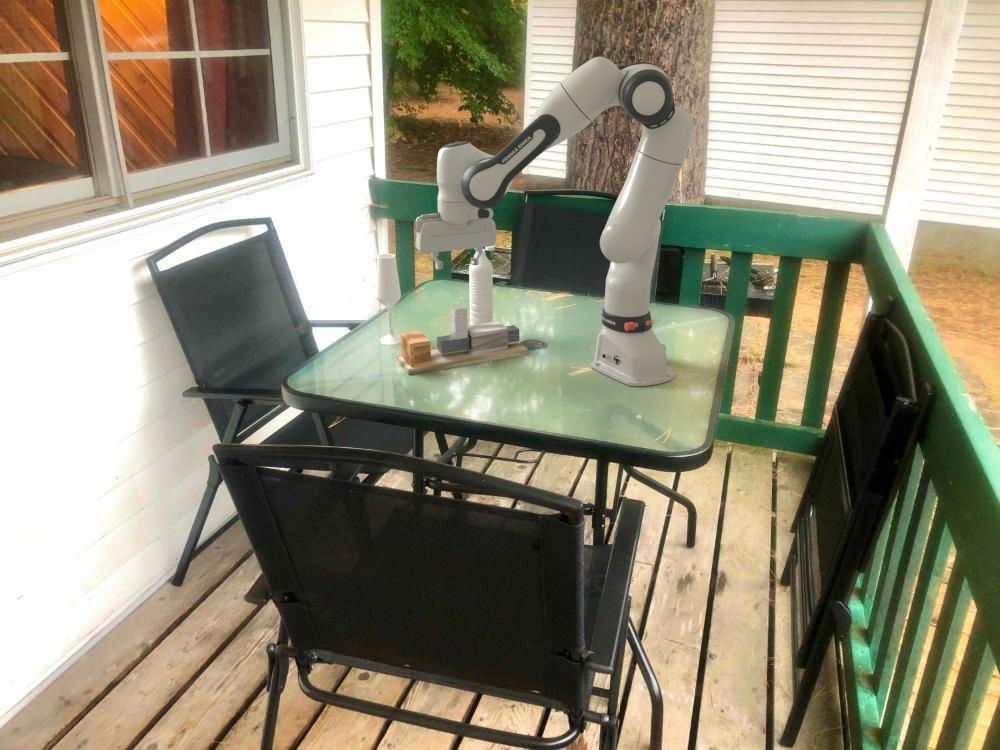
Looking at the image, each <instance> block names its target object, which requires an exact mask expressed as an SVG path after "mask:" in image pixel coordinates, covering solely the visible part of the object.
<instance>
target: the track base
mask: <svg viewBox="0 0 1000 750" xmlns="http://www.w3.org/2000/svg"><path fill="white" fill-rule="evenodd" d="M468 334H469V335H470V336H471V349H468V350H462V351H455V352H449V353H443V354H441V353H440V352H439V351H438V350H437V348H435V349H432V348H431V340H430V339H429V338H428V337H427V336H426V335H425V334H424V333H423V332H421V330H416V331H409V332H405V333H404V332H403V333H402V332H401V333H399V337H400V340H401V343H400V354H398V355H396V361H397V363H398V364H399V365H400V366H401V367H402V369H403V368H404V369H403V370H404V371H405V372H406V374H411V375H415V374H421V373H429V372H433V371H438V370H445V369H449V368H450V369H451V368H456V367H463V366H468V365H474V364H480V363H484V362H485V363H487V362H492V361H497V360H503V359H509V358H516V357H521V356H522V357H523V356H527V354H529V349H528V348H527V347H526V346H524V345H523V344H522V343H520V341H517V342H511V343H508V328H507V327H506V325H504V324H503V323H501V321H493V322H490V323H483V324H476V325H470V324H469V325H468Z"/></svg>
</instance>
